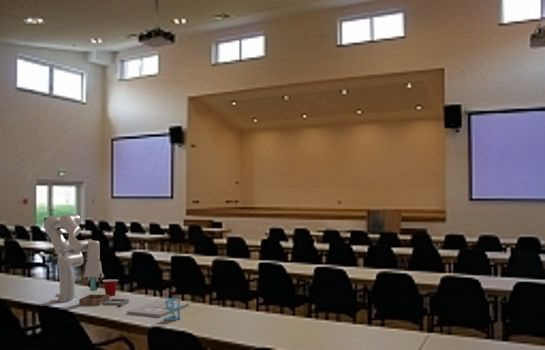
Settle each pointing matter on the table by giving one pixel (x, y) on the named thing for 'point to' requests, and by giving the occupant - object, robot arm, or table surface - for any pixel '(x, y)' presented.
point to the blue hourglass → (173, 309)
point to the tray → (124, 301)
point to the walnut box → (94, 299)
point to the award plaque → (155, 309)
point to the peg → (93, 284)
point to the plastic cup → (110, 286)
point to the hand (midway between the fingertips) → (93, 286)
